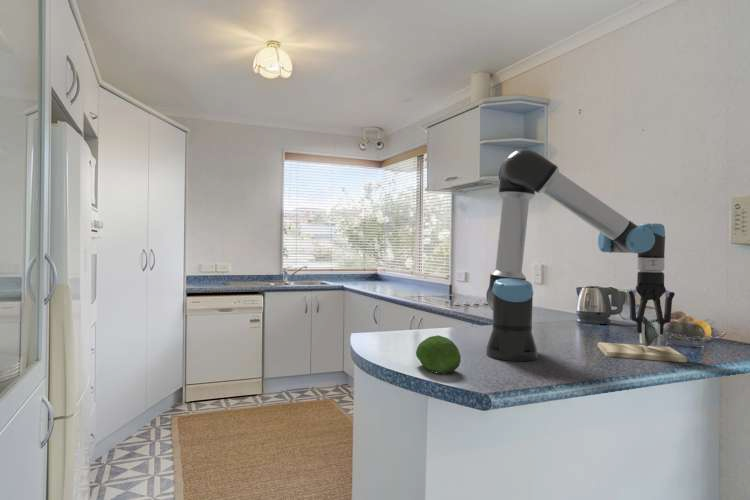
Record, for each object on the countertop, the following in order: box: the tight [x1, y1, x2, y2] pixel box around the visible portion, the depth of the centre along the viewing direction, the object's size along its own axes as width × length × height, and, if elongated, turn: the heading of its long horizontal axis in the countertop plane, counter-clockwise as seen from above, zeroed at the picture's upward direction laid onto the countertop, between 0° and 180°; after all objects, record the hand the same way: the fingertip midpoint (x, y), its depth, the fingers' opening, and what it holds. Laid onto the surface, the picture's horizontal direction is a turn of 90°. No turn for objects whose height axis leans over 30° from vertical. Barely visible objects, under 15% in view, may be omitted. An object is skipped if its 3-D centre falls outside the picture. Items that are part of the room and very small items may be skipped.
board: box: [597, 341, 688, 363], centre depth 153 cm, size 22×16×2 cm
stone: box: [642, 316, 659, 347], centre depth 152 cm, size 11×4×10 cm, turn 164°
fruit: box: [415, 335, 462, 374], centre depth 126 cm, size 15×10×10 cm, turn 22°
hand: (649, 343), depth 152 cm, fingers closed on stone, 4 cm apart
